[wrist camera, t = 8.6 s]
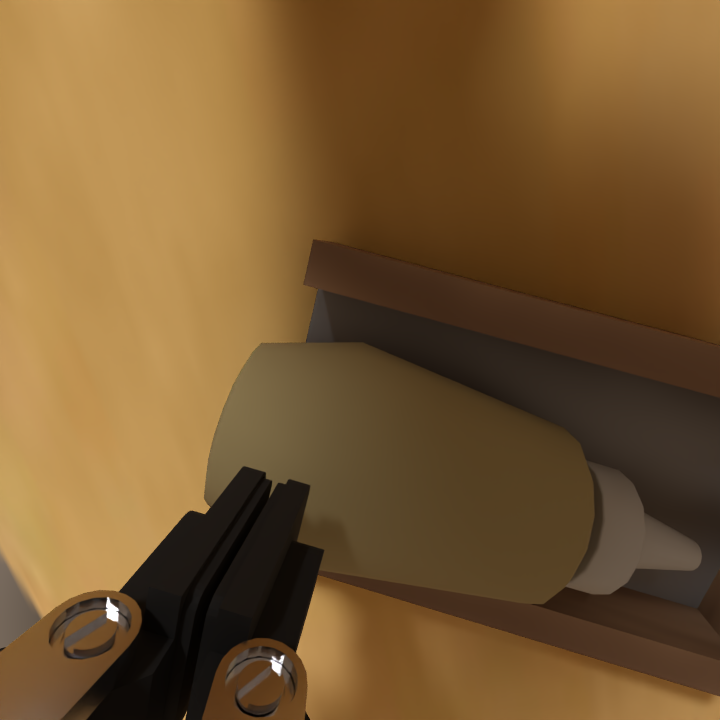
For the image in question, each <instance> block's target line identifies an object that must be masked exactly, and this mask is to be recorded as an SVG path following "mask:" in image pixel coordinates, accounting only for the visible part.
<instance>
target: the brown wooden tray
mask: <svg viewBox="0 0 720 720" xmlns="http://www.w3.org/2000/svg"><path fill="white" fill-rule="evenodd" d="M303 285H307V286H310V287H314V288H318V291H317V296H316V300H315V304H314V309H313V313H312V318H311V322H310V326H309V331H308V335H307V339H306V343H335V342H364V343H366V344H368V345H371V346H373V347H375V348H378V349H380V350H382V351H385V352H387V353H389V354H392V355H394V356H397V357H399V358H401V359H404V360H406V361H408V362H411V363H413V364H415V365H418V366H420V367H422V368H425V369H427V370H429V371H432V372H434V373H437V374H439V375H441V376H444V377H446V378H448V379H451V380H453V381H455V382H458V383H460V384H462V385H465V386H467V387H469V388H472V389H474V390H477V391H479V392H481V393H484V394H486V395H488V396H491V397H493V398H495V399H498V400H500V401H502V402H505V403H507V404H509V405H512V406H514V407H517V408H519V409H521V410H524V411H526V412H528V413H531V414H533V415H535V416H538V417H540V418H542V419H545V420H547V421H549V422H552V423H554V424H557V425H559V426H561V427H564V428H565V429H566V430H567V431H568V432H569V433H570V434H571V435H572V436H573V437H574V438H575V439H576V440H577V441H578V442H579V443H580V445H581V447H582V450H583V453H584V456H585V459H586V460H587V461H590V462H593V463H597V464H600V465H603V466H607V467H610V468H613V469H616V470H619V471H620V472H622V473H623V474H624V475H625V476H626V477H627V478H628V479H629V480H630V481H631V482H632V483H633V484H634V486H635V488H636V491H637V493H638V495H639V498H640V500H641V502H642V505H643V507H644V513H646V514H648V515H649V516H651V517H653V518H655V519H656V520H658V521H660V522H662V523H664V524H665V525H667V526H669V527H671V528H672V529H674V530H676V531H678V532H680V533H681V534H683V535H685V536H687V537H689V538H690V539H692V540H694V541H695V542H696V543H697V544H698V545H699V547H700V549H701V554H702V559H701V563H700V565H699V566H698V568H696V569H695V570H692V571H683V570H660V569H637V568H636V569H635V571H634V572H633V574H632V576H631V577H630V579H629V581H628V582H627V583H626V584H624V585H623V586H621V587H620V588H619V589H617V590H616V591H614V592H613V593H611V594H590V593H586V592H583V591H579V590H576V589H572V588H569V587H565V588H563V589H562V590H561V591H560V592H558V593H557V594H556V595H554V596H553V597H552V598H551V599H549V600H548V601H547V602H545V603H544V604H524V603H517V602H511V601H505V600H499V599H493V598H487V597H480V596H474V595H468V594H462V593H456V592H450V591H444V590H437V589H431V588H425V587H419V586H413V585H407V584H401V583H395V582H388V581H382V580H376V579H370V578H364V577H358V576H352V575H345V574H339V573H333V572H327V571H321V570H319V572H318V575H321V576H324V577H327V578H331V579H334V580H337V581H341V582H344V583H347V584H350V585H354V586H357V587H360V588H364V589H367V590H370V591H374V592H377V593H380V594H383V595H387V596H390V597H393V598H397V599H400V600H403V601H407V602H410V603H413V604H417V605H420V606H423V607H426V608H430V609H433V610H436V611H440V612H443V613H446V614H450V615H453V616H456V617H460V618H463V619H466V620H469V621H473V622H476V623H479V624H483V625H486V626H489V627H493V628H496V629H499V630H503V631H506V632H509V633H512V634H516V635H519V636H522V637H526V638H529V639H532V640H536V641H539V642H542V643H545V644H549V645H552V646H555V647H559V648H562V649H565V650H569V651H572V652H575V653H579V654H582V655H585V656H588V657H592V658H595V659H598V660H602V661H605V662H608V663H612V664H615V665H618V666H622V667H625V668H628V669H631V670H635V671H638V672H641V673H645V674H648V675H651V676H655V677H658V678H661V679H664V680H668V681H671V682H674V683H678V684H681V685H684V686H688V687H691V688H694V689H698V690H701V691H704V692H707V693H711V694H714V695H717V696H720V345H717V344H713V343H709V342H705V341H702V340H698V339H694V338H690V337H687V336H683V335H679V334H675V333H672V332H668V331H664V330H660V329H657V328H653V327H649V326H645V325H642V324H638V323H634V322H630V321H627V320H623V319H619V318H615V317H612V316H608V315H604V314H600V313H596V312H593V311H589V310H585V309H581V308H578V307H574V306H570V305H566V304H563V303H559V302H555V301H551V300H548V299H544V298H540V297H536V296H533V295H529V294H525V293H521V292H518V291H514V290H510V289H506V288H503V287H499V286H495V285H491V284H488V283H484V282H480V281H476V280H473V279H469V278H465V277H461V276H457V275H454V274H450V273H446V272H442V271H439V270H435V269H431V268H427V267H424V266H420V265H416V264H412V263H409V262H405V261H401V260H397V259H394V258H390V257H386V256H382V255H379V254H375V253H371V252H367V251H364V250H360V249H356V248H352V247H349V246H345V245H341V244H337V243H334V242H328V241H321V240H313V243H312V248H311V253H310V257H309V262H308V266H307V271H306V275H305V280H304V284H303Z"/></svg>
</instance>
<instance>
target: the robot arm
mask: <svg viewBox="0 0 720 720" xmlns="http://www.w3.org/2000/svg"><path fill="white" fill-rule="evenodd" d="M271 487H272V480H269V479H266V472H264V471H260V470H257V469H253V468H250V467H246V466H243V467H242V468H241V469H240V471H239V472H238V473H237V474H236V476H235V477H234V478H233V480H232V481H231V482H230V483H229V485H228V486H227V487H226V488H225V490H224V491H223V492H222V494H221V495H220V496H219V497H218V499H217V500H216V501H215V503H214V504H213V505H212V506H211V508H210V509H209V510H208V511H207V513H206V514H202V513H199V512H195V511H189V512H188V513H187V514H186V515H184V517H183V518H182V519H181V520H180V521H179V522H178V524H177V525H176V526H175V527H174V528H173V529H172V531H171V532H170V533H169V534H168V535H167V536H166V538H165V539H164V540H163V541H162V542H161V543H160V545H159V546H158V547H157V548H156V549H155V550H154V551H153V553H152V554H151V555H150V556H149V557H148V558H147V560H146V561H145V562H144V563H143V564H142V565H141V567H140V568H139V569H138V570H137V571H136V572H135V574H134V575H133V576H132V577H131V578H130V579H129V581H128V582H127V583H126V584H125V585H124V586H123V588H122V589H121V590H120V591H119V592H116V591H106V590H98V591H93V592H87V593H83V594H81V595H78V596H76V597H73V598H70V599H68V600H67V601H65V602H64V603H62V604H61V605H59V606H58V607H56V608H55V609H53V610H52V611H51V612H50V613H48V614H47V615H46V616H45V617H43V618H42V619H41V620H40V621H39V622H37V623H36V624H35V625H33V626H32V627H31V628H30V629H28V630H27V631H26V632H25V633H23V634H22V635H21V636H20V637H18V638H17V639H16V640H15V641H13V642H12V643H11V644H10V645H9V646H7V647H5V648H1V649H0V720H183V718H184V716H185V714H186V712H187V715H186V720H310V719H309V717H308V715H307V713H306V711H305V709H306V697H307V674H306V670H305V668H304V665H303V663H302V660H301V659H300V658H299V656H298V655H297V654H296V650H297V647H298V643H299V640H300V637H301V633H302V630H303V626H304V623H305V619H306V616H307V612H308V609H309V605H310V601H311V598H312V594H313V591H314V587H315V583H316V580H317V576H318V572H319V569H320V565H321V561H322V558H323V554H324V549H320V548H317V547H314V546H310V545H307V544H303V543H300V542H297V540H298V536H299V532H300V528H301V524H302V520H303V516H304V512H305V508H306V504H307V500H308V496H309V491H310V485H308V484H305V483H302V482H298V481H295V480H291V479H288V481H287V483H286V484H283V483H278V484H277V485H276V487H275V489H274V491H273V492H272V494H271V496H270V492H271ZM269 496H270V498H269Z"/></svg>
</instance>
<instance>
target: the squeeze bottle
mask: <svg viewBox="0 0 720 720" xmlns="http://www.w3.org/2000/svg"><path fill="white" fill-rule="evenodd" d="M243 466H246V467H250V468H253V469H257V470H260V471H264V472H266V479H269V480H272V487H271V492H270V496H271V494H272V492H273V491H274V489H275V487H276V485H277V484H278V483H283V484H286V483H287V481H288V479H291V480H295V481H298V482H302V483H305V484H308V485H310V491H309V496H308V500H307V504H306V508H305V512H304V516H303V520H302V524H301V528H300V532H299V536H298V540H297V542H300V543H303V544H307V545H310V546H314V547H317V548H320V549H324V554H323V558H322V561H321V565H320V569H319V570H321V571H327V572H333V573H339V574H345V575H352V576H358V577H364V578H370V579H376V580H382V581H388V582H395V583H401V584H407V585H413V586H419V587H425V588H431V589H437V590H444V591H450V592H456V593H462V594H468V595H474V596H480V597H487V598H493V599H499V600H505V601H511V602H517V603H524V604H544V603H545V602H547V601H548V600H549V599H551V598H552V597H553V596H554V595H556V594H557V593H558V592H560V591H561V590H562V589H563V588H565V587H569V588H572V589H576V590H579V591H583V592H586V593H590V594H611V593H613V592H614V591H616V590H617V589H619V588H620V587H621V586H623V585H624V584H626V583H627V582H628V581H629V579H630V577H631V576H632V574H633V572H634V571H635V569H636V568H637V569H660V570H683V571H692V570H695V569H696V568H698V566H699V565H700V563H701V559H702V554H701V549H700V547H699V545H698V544H697V543H696V542H695V541H694V540H692V539H690V538H689V537H687V536H685V535H683V534H681V533H680V532H678V531H676V530H674V529H672V528H671V527H669V526H667V525H665V524H664V523H662V522H660V521H658V520H656V519H655V518H653V517H651V516H649V515H648V514H646V513H644V507H643V505H642V502H641V500H640V498H639V495H638V493H637V491H636V488H635V486H634V484H633V483H632V482H631V481H630V480H629V479H628V478H627V477H626V476H625V475H624V474H623V473H622V472H620V471H619V470H616V469H613V468H610V467H607V466H603V465H600V464H597V463H593V462H590V461H587V460H586V459H585V456H584V453H583V450H582V447H581V445H580V443H579V442H578V441H577V440H576V439H575V438H574V437H573V436H572V435H571V434H570V433H569V432H568V431H567V430H566V429H565V428H564V427H561V426H559V425H557V424H554V423H552V422H549V421H547V420H545V419H542V418H540V417H538V416H535V415H533V414H531V413H528V412H526V411H524V410H521V409H519V408H517V407H514V406H512V405H509V404H507V403H505V402H502V401H500V400H498V399H495V398H493V397H491V396H488V395H486V394H484V393H481V392H479V391H477V390H474V389H472V388H469V387H467V386H465V385H462V384H460V383H458V382H455V381H453V380H451V379H448V378H446V377H444V376H441V375H439V374H437V373H434V372H432V371H429V370H427V369H425V368H422V367H420V366H418V365H415V364H413V363H411V362H408V361H406V360H404V359H401V358H399V357H397V356H394V355H392V354H389V353H387V352H385V351H382V350H380V349H378V348H375V347H373V346H371V345H368V344H366V343H364V342H335V343H261V344H260V345H259V346H258V347H257V348H256V349H255V350H254V351H253V352H252V354H251V356H250V357H249V359H248V360H247V362H246V364H245V365H244V367H243V368H242V370H241V372H240V374H239V375H238V377H237V379H236V381H235V383H234V384H233V387H232V389H231V391H230V394H229V396H228V398H227V401H226V403H225V405H224V408H223V410H222V413H221V416H220V419H219V422H218V425H217V428H216V431H215V434H214V438H213V442H212V446H211V450H210V454H209V458H208V465H207V474H206V484H205V494H204V499H205V501H206V503H207V504H208V505H209V506H210V507H211V506H212V505H213V504H214V503H215V501H216V500H217V499H218V497H219V496H220V495H221V494H222V492H223V491H224V490H225V488H226V487H227V486H228V485H229V483H230V482H231V481H232V480H233V478H234V477H235V476H236V474H237V473H238V472H239V471H240V469H241V468H242V467H243ZM270 496H269V498H270Z"/></svg>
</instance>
